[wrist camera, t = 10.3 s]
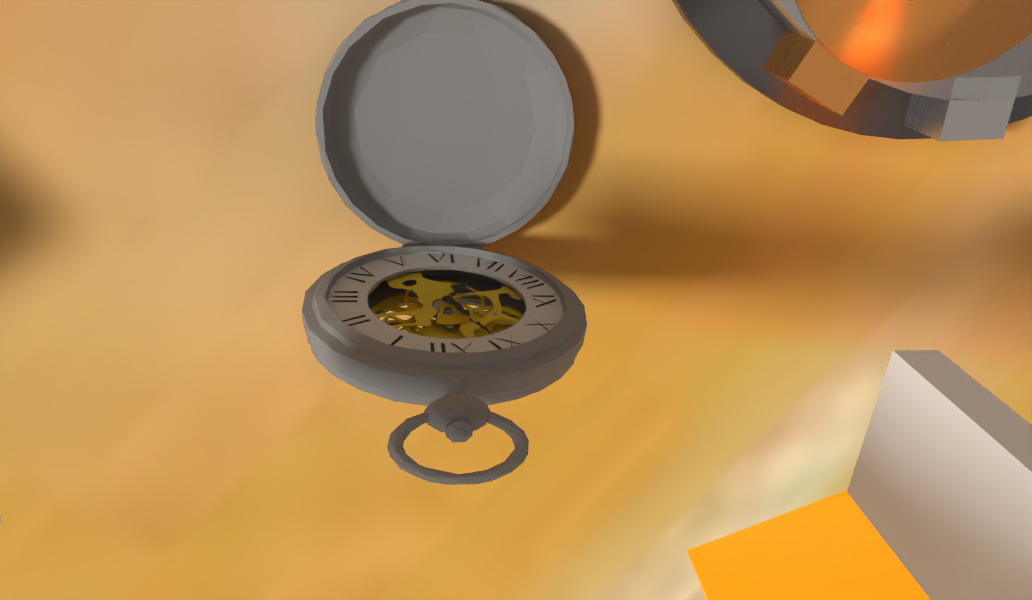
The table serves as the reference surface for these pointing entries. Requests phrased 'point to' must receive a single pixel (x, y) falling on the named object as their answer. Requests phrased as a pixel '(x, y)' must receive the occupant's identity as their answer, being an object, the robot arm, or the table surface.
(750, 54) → the base plate
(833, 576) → the orange juice
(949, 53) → the sprocket
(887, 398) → the robot arm
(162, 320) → the table surface
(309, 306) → the pocket watch
